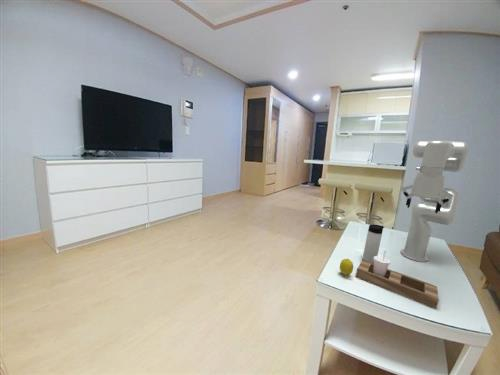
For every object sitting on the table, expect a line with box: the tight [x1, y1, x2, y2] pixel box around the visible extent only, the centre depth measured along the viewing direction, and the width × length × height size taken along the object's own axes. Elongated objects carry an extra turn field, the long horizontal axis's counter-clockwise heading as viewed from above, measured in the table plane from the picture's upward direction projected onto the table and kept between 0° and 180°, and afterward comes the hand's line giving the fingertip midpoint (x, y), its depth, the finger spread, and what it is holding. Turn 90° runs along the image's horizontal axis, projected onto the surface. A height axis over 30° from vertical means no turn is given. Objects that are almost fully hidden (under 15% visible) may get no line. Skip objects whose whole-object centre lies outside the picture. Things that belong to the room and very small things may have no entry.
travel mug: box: [361, 223, 385, 264], centre depth 110 cm, size 6×7×20 cm
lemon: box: [339, 258, 354, 276], centre depth 97 cm, size 6×6×8 cm
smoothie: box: [373, 250, 391, 277], centre depth 95 cm, size 6×6×14 cm
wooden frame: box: [355, 259, 440, 310], centre depth 92 cm, size 11×28×4 cm, turn 51°
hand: (421, 209), depth 93 cm, fingers open, 9 cm apart
